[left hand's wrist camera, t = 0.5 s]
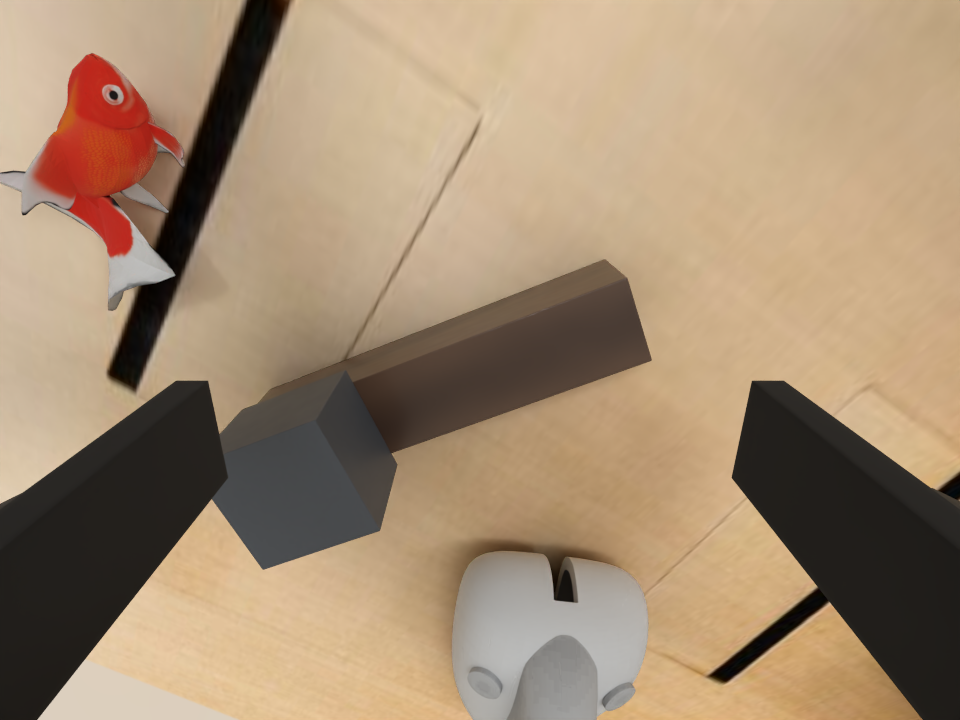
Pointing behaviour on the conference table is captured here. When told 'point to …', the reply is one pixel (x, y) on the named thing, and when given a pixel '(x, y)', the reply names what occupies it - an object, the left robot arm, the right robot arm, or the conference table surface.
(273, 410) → the grey block
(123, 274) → the fish
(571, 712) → the projector
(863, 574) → the left robot arm
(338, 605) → the conference table surface
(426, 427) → the long brown block
